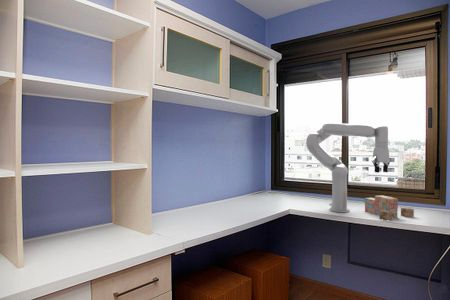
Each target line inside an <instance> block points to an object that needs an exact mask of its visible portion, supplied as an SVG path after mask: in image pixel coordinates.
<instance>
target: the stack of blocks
mask: <svg viewBox="0 0 450 300" xmlns="http://www.w3.org/2000/svg"><path fill="white" fill-rule="evenodd" d="M398 201H399V199H398V198H396V197H393V196H388V195H387V196H386V195H374V197H364V212H366V213H369V212H370V214H373V215H376V216H380V211H383V210H386V211H391V212H392V219H397V218H398V214H399V212H398V210H399V209H398V206H399V205H398Z"/></svg>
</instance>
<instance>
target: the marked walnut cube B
mask: <svg viewBox="0 0 450 300" xmlns="http://www.w3.org/2000/svg"><path fill="white" fill-rule="evenodd" d="M414 211H415V209H414V208H410V207H400V216H402V217H405V218H414V217H415V212H414Z"/></svg>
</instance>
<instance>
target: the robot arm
mask: <svg viewBox="0 0 450 300" xmlns="http://www.w3.org/2000/svg"><path fill="white" fill-rule="evenodd" d="M331 136H340V137H361V138H362V137H363V138H368V139H369V138H374V146H373V149H372V159H371V163H372V164H373V167H374V173H377V174H379V173H380V163H382V164H383V166H382V172H383V173H389V166H390V163H391V160H392V159H390V150H389V149H390V148H389V128H388V126H385V125H377V126H372V125H364V124H351V123H340V122H339V123H337V122H324V123H323V124H322V126H321V128H320V129H319V130H317V131H316V132H311V133H309V134H308V135H307V136H306V139H305V145H306V148H307V150H308V152H309V153H310V154H311V155H312V156H313V157H314V158H315V159H316V160H317V161H318V162H319V163H320V164H321V165H322V166H323V167H324V168H327V169H329V170H330V172H331V180H332V181H331V185H332V186H331V188H332V189H331V191H332V192H331V195H332V197H331V198H332V199H331V200H332V202H331V203H329V205H328V206H330V208H329V210H330V212H336V213H348V212H350V209H349V208H348V173H349V171H348V170H349V169H348V167H347V166H346V165H345V164H344V163H343V162H342V161H340V159H338V157H336V156H335V155H334V154H331V153H329V152H327V150H325V148H323V147H322V145H320V144H321V143H322V142H324V141H325V140H327V139H328V138H329V137H331Z"/></svg>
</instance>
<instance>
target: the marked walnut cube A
mask: <svg viewBox="0 0 450 300" xmlns="http://www.w3.org/2000/svg"><path fill="white" fill-rule="evenodd" d="M381 219H383V220H382V221H386V220H389V221H392V220H393V218H392V212H391V211H386V210H383V211H380V215H379V220H381Z"/></svg>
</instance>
